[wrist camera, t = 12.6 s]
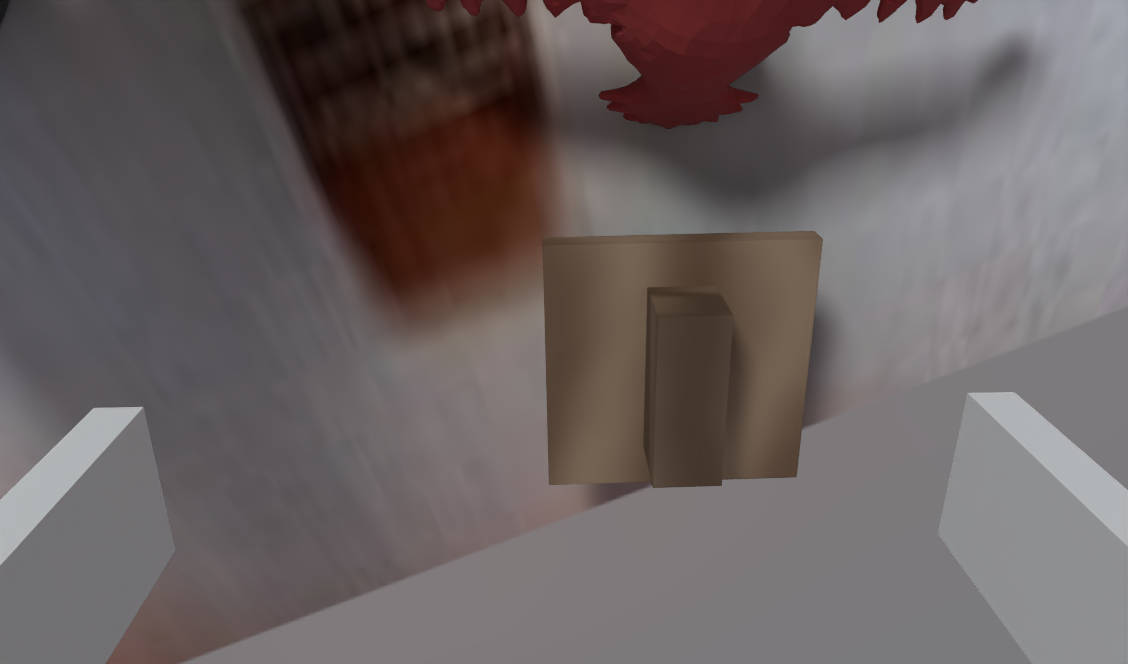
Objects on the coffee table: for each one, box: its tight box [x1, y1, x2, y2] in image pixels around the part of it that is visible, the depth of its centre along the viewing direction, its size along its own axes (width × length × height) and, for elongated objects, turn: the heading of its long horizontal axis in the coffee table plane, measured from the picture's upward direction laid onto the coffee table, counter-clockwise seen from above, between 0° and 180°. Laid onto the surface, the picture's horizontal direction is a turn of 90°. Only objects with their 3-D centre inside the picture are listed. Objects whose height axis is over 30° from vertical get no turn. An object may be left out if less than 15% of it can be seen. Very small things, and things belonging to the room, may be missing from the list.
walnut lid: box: [543, 231, 823, 488], centre depth 37 cm, size 12×12×5 cm
